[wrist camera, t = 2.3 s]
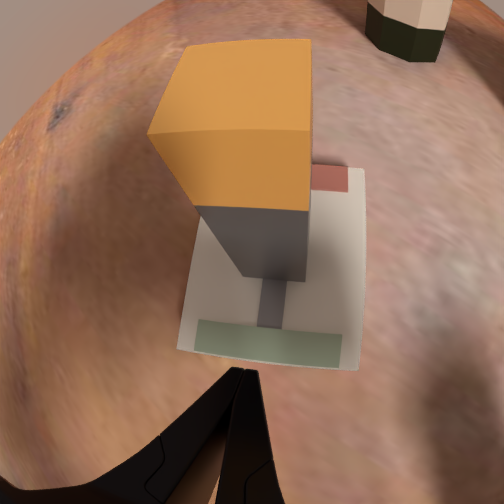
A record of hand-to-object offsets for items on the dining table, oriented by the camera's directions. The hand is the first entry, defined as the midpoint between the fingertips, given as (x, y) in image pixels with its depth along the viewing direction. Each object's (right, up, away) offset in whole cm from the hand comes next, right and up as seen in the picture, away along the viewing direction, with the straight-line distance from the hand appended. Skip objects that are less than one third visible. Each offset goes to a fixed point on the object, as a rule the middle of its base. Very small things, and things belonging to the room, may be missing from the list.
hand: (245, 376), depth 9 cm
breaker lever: (+1, +4, +6) cm, 7 cm away
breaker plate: (+2, +3, +8) cm, 9 cm away
